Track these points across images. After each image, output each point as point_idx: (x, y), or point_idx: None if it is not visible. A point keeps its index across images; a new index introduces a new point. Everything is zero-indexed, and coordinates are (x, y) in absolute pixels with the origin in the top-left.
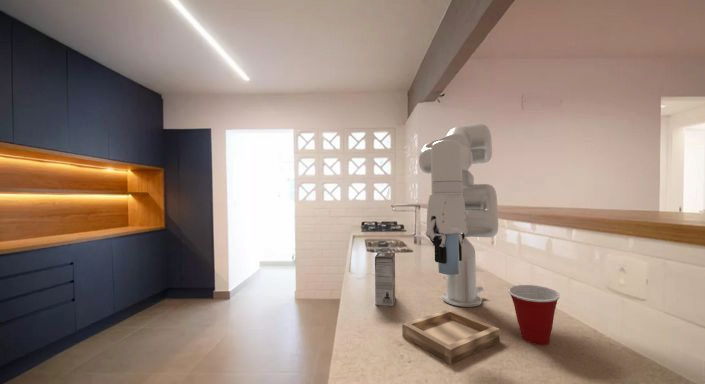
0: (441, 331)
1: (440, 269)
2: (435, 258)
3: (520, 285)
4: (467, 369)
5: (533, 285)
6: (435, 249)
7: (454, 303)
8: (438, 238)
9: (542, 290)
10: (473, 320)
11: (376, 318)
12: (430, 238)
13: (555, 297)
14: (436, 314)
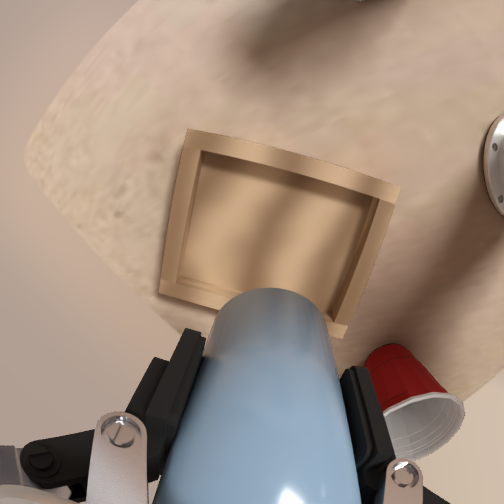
0: (269, 213)
1: (212, 327)
2: (178, 344)
3: (459, 405)
4: (178, 307)
5: (461, 422)
6: (130, 404)
7: (486, 161)
8: (78, 499)
9: (446, 431)
10: (357, 278)
11: (237, 13)
12: (14, 454)
13: (413, 450)
14: (330, 172)
